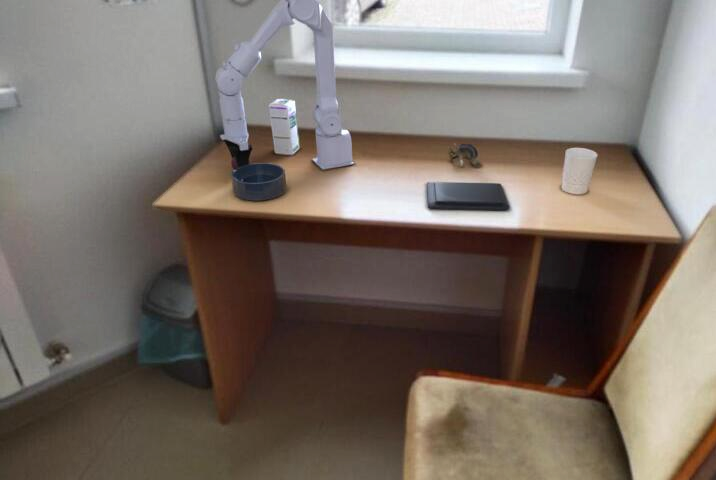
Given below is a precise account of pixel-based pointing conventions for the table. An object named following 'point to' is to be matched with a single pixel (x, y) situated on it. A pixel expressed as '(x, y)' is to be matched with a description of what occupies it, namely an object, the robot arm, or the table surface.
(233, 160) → the plum
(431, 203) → the wallet
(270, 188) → the bowl
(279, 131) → the syrup box
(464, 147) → the chipmunk toy
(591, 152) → the white cup
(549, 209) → the table surface
